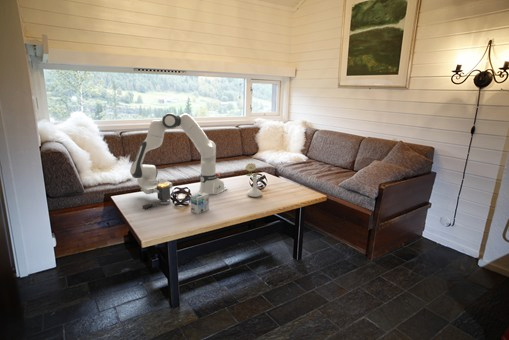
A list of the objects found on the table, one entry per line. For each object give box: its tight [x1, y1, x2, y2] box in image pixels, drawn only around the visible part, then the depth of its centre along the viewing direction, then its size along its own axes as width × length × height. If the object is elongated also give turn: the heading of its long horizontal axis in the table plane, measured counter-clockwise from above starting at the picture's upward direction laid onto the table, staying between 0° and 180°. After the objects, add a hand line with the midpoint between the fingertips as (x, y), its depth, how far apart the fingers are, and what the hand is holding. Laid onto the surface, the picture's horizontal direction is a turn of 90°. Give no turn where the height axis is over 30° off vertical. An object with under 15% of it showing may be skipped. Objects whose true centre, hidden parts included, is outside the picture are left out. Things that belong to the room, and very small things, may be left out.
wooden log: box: [156, 183, 171, 201], centre depth 205 cm, size 6×6×10 cm
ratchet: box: [142, 198, 171, 211], centre depth 202 cm, size 19×8×7 cm, turn 139°
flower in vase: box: [245, 162, 263, 198], centre depth 224 cm, size 13×11×25 cm
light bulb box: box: [190, 192, 210, 215], centre depth 196 cm, size 11×7×11 cm, turn 146°
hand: (164, 190), depth 204 cm, fingers open, 6 cm apart
